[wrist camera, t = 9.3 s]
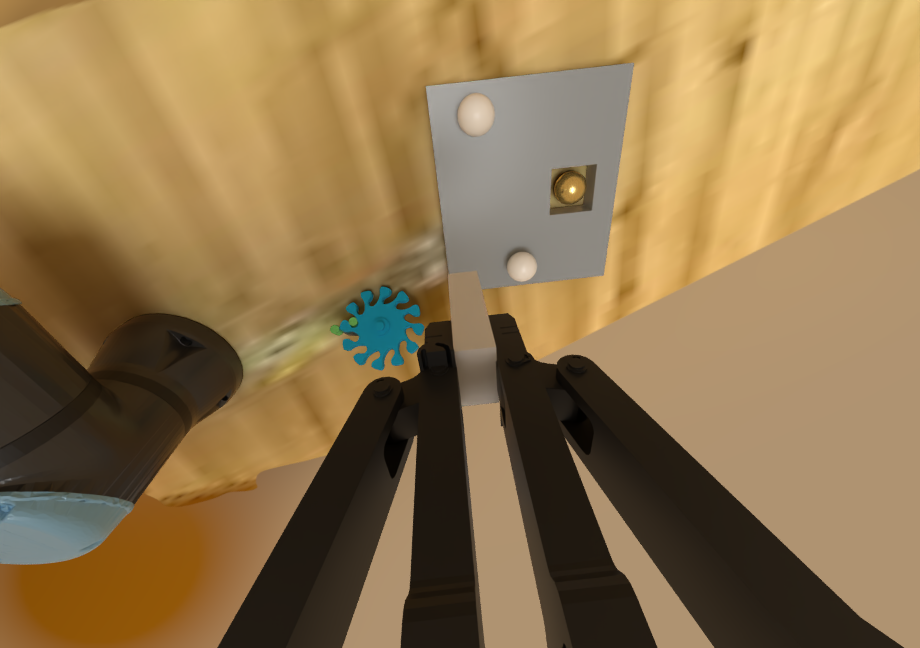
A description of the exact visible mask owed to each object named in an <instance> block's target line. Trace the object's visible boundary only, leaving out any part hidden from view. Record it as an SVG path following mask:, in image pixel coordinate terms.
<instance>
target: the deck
mask: <svg viewBox="0 0 920 648" xmlns="http://www.w3.org/2000/svg"><path fill="white" fill-rule="evenodd" d="M633 67H634V63H628V64H619V65H610V66H601V67H593V68H584V69H575V70H566V71H557V72H548V73H540V74H531V75H522V76H513V77H504V78H495V79H486V80H478V81H469V82H460V83H451V84H442V85H433V86H426V92H427V100H428V108H429V116H430V125H431V133H432V141H433V149H434V157H435V165H436V174H437V182H438V190H439V198H440V206H441V214H442V222H443V231H444V239H445V247H446V255H447V263H448V271H449V274H453V273H462V272H471V271H477V274H478V278H479V281H480V285H481V289H489V288H498V287H506V286H515V285H524V284H533V283H542V282H550V281H559V280H568V279H577V278H586V277H594V276H603V275H604V269H605V262H606V255H607V248H608V241H609V234H610V227H611V220H612V213H613V206H614V199H615V192H616V185H617V178H618V172H619V165H620V158H621V151H622V144H623V137H624V130H625V123H626V116H627V109H628V102H629V95H630V88H631V81H632V74H633ZM473 93H480V94H483V95H485V96H487V97H488V98H489V99H490V101H491V102H492V104H493V107H494V111H495V118H494V122H493V125H492V127H491V128H490V130H489V131H488V132H487V133H485V134H484V135H482V136H478V137H473V136H470V135H468V134H466V133H465V132H464V131H463V130H462V129H461V127H460V125H459V123H458V117H457V114H458V108H459V105H460V103H461V102H462V100H463V99H464V98H465V97H466V96H468V95H470V94H473ZM584 165H587V172H586V184H587V188H586V192H585V194H584V203H583V205H577V206H568V207H559V208H550V193H551V171H552V169H557V168H566V167H575V166H584ZM518 252H527V253H529V254H531V255H532V256H533V257H534V258H535V260H536V263H537V270H536V273H535V274H534V276H533V277H532V278H531V279H529V280H527V281H523V282H520V281H516V280H514V279H513V278H511V277H510V275H509V274H508V271H507V263H508V261H509V259H510V257H511V256H512V255H514V254H515V253H518Z"/></svg>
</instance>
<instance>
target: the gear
mask: <svg viewBox="0 0 920 648" xmlns="http://www.w3.org/2000/svg"><path fill="white" fill-rule="evenodd" d="M391 294H392V291H391V290H390V289H389V288H387V287H383V286H382V287H381V288H380V297H379V300H378V301H377V303H376V304H375V305H374V306H370V302H371V301H372V299H373V293H372V292H371V291H365V292H362V293H361V298H362V299H363V301H364V303H365V311H364V313H363V314H362V315H359V313H358V311H359V307H358V305H356V304H355V303H354V302H352V303H351V304H349V305H348V306H347V307H346V310H347V311H348V312H349V313H351V314H353V315H354V316H355V317H356V318H355V317H352V318H350V319H349V321H347V320H343V321H342V322H341V324H340V327H339V326H337V325H333V326H332V327H331V328H330V331H331V332H332V333H333V334H336V335H341V334H342V333H343V332H344V333H345V334H347V335H352V336H359V340H358V341H357V342H353V341H352V340H349V339H344V340H343V348H344V350H347V351H351V350H352V349H353V348H355V347H357V346H366V347H367V351H366V352H365V353H363V354H360V353H358V354H356V355H355V356H354V357H353V358H354V360H355V361H356V362H357V363H358V364H359V365H364V364H365V363H366V360H367V359H368V357H369V356H370V355H371V354H373V353H375V352H377V351H379V352H380V357H379V358H378V359H376V360H374V361H373V362H372V367H373V368H375V369H378V370H383V369H384V366H385V365H384V360H385V357H386V355H387V353H388V352H389V351H390V350H392V349H393V350H394V351H395V354H394V356H393V358H392V360H391V363H392V365H394V366H398V365H402V364H404V359H403V358H402V356H401V355H400V351H399V347H400V343H401V342H402V341H406V342H407V351H408V352H409V353H411V354H412V353H414V352H415V351H417V350H418V348H419V346H418V345H417V344H416V343H415V342H412V341H411V340H409V338H408V337H407V335H406V329H407V328H413V331H414V332H415V333H416V334H417V335H422V333H423V331H424V326H423V324H421V323H417V324H412V323H409V322H407V321H406V320H405V319H404V317H405V315H406V314H411V315H413V316H414V317H418V316H420V309H419V306H418V305H412V306H411V307H410V308H408V309H404V310H398V309H396V306H397V304H399V303H407V302H408V301H409V298H408V296H407V295H406V294H405V293H404V292H403V291H401V292H399V293H398V295H397V297H396V299H395V300H394V301H392V302H391V303H389V304H384V300H385V299H386V298H388V297H390V296H391Z"/></svg>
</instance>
